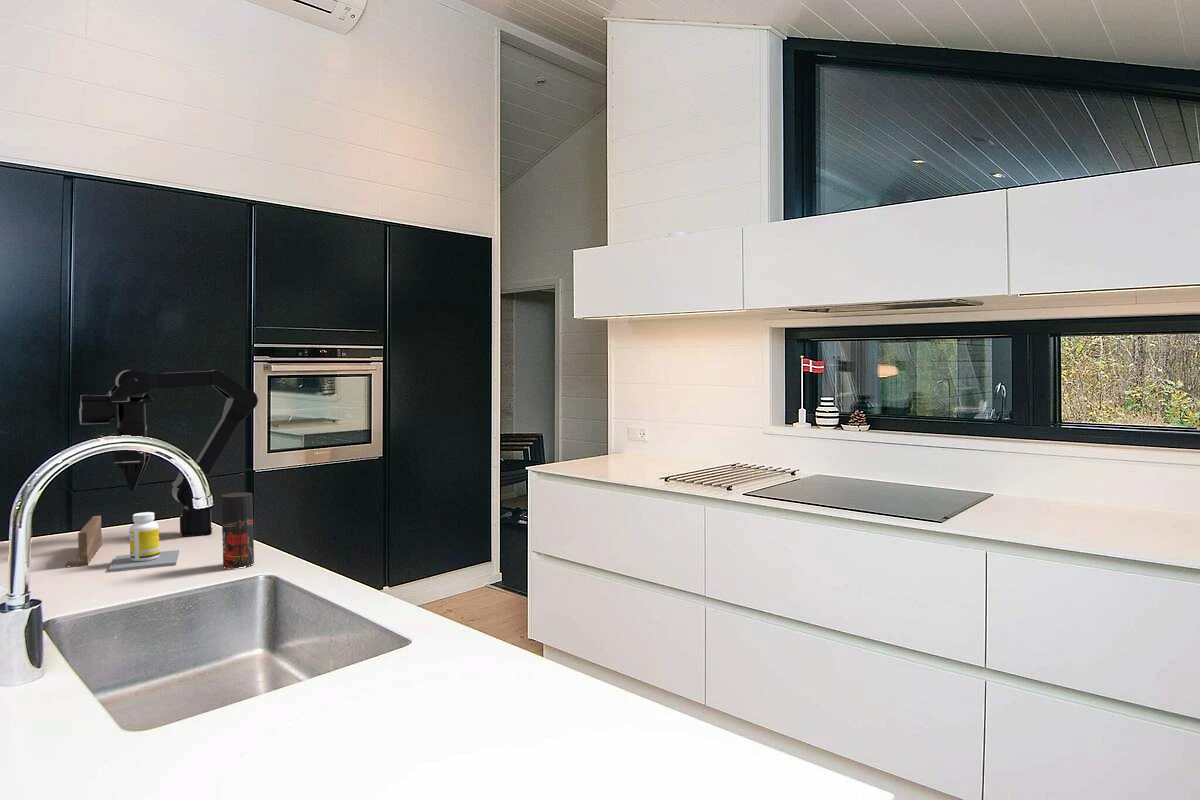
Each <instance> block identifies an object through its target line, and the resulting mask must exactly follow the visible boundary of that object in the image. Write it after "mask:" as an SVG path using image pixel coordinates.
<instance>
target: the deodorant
mask: <svg viewBox="0 0 1200 800" xmlns="http://www.w3.org/2000/svg"><path fill="white" fill-rule="evenodd" d="M253 505H254V503H253V493H252V492H231V493H229V492H228V493H224V494H222V495H221V530H222V531H221V534H222V535H221V536H222V566H223V567H222V568H224V567H225V568H224V569H226V568H239V567H244V566H249V565H251V564H253V563H254V564H255V552H254V551H255V546H254V545H255V544H254V510H253V509H254V508H253Z"/></svg>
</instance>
